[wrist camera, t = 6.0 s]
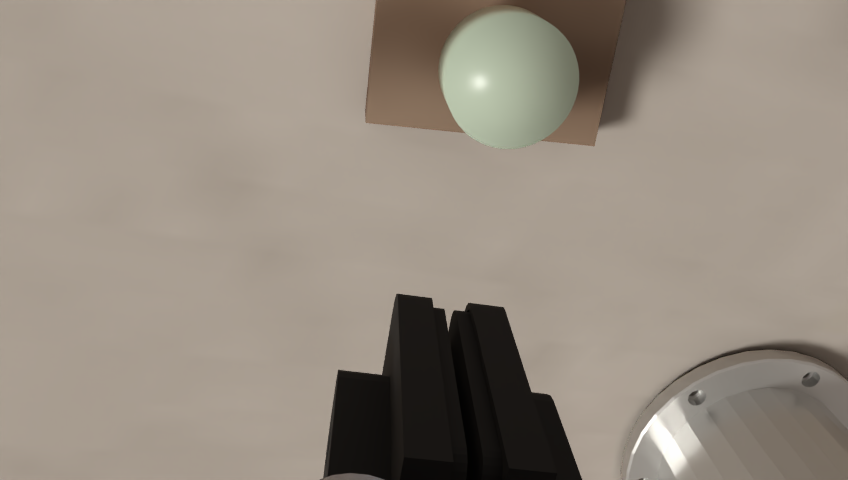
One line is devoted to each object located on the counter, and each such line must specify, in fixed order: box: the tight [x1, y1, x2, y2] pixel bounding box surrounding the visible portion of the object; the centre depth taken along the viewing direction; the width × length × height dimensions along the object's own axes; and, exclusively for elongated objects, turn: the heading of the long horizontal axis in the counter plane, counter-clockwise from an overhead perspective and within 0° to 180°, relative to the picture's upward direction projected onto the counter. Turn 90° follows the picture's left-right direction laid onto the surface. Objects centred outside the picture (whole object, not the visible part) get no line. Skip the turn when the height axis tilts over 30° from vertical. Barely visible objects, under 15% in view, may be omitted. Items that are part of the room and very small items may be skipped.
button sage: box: [438, 5, 579, 149], centre depth 26 cm, size 4×4×2 cm
